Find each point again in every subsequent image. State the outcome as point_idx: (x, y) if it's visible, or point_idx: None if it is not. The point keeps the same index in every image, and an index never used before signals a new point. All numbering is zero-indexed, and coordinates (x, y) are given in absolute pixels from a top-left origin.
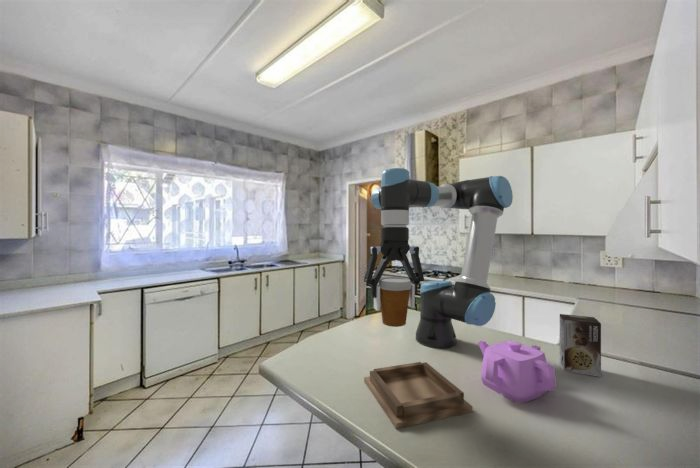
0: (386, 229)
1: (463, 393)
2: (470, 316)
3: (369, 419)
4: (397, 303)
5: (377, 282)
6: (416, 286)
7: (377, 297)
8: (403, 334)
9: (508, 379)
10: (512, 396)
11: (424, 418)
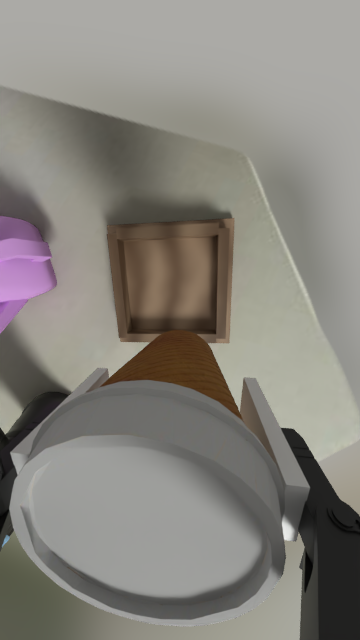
0: None
1: (108, 234)
2: None
3: (259, 250)
4: (181, 355)
5: (326, 531)
6: (11, 446)
7: (275, 419)
8: None
9: (17, 234)
10: (35, 232)
11: (187, 221)
